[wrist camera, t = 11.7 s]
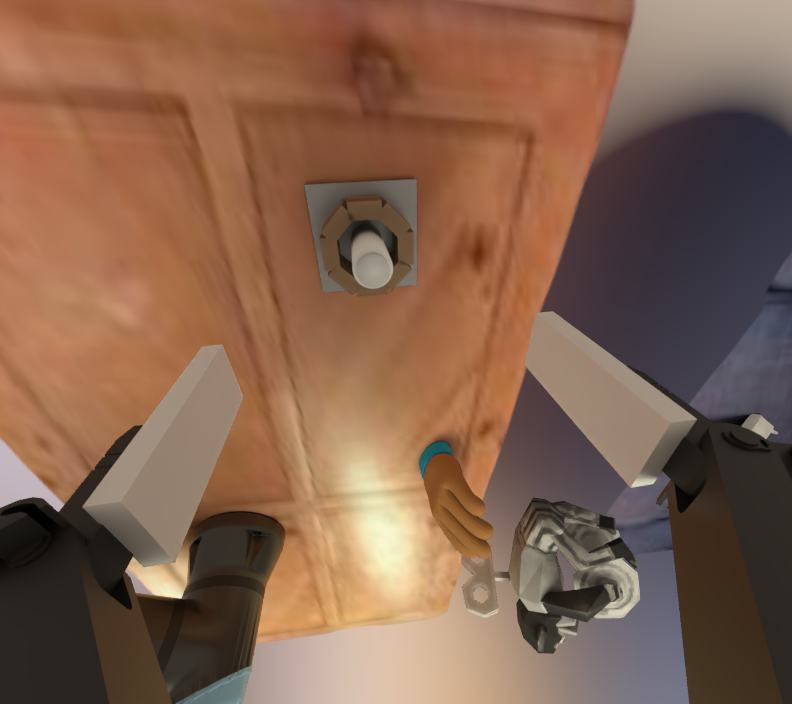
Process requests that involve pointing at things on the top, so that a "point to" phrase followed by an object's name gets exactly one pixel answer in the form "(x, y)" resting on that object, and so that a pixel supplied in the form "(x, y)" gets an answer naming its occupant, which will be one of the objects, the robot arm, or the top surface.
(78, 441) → the top surface
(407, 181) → the wall coat peg
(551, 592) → the toy
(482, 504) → the orange glove
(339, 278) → the ring
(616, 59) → the top surface
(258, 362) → the top surface
